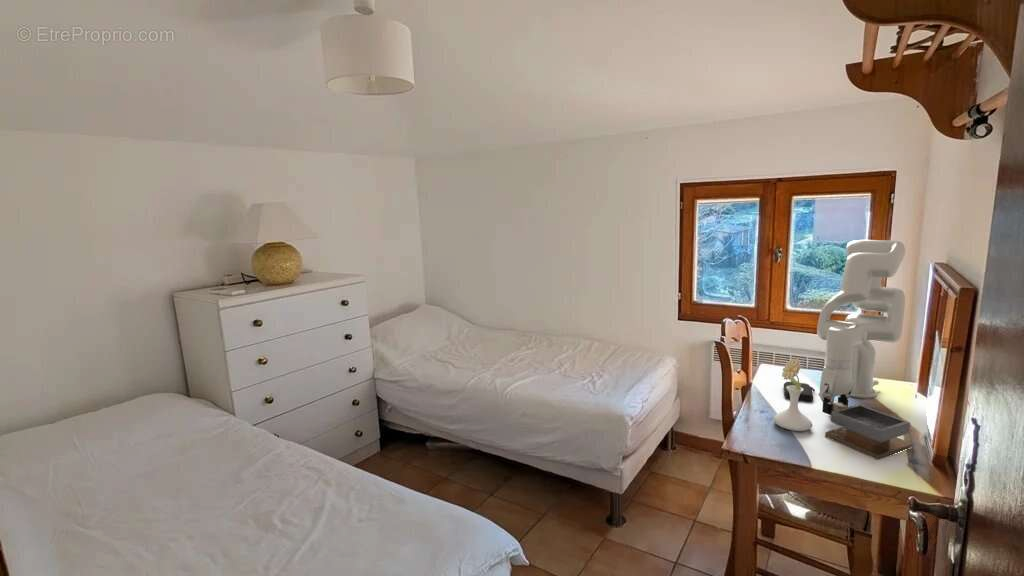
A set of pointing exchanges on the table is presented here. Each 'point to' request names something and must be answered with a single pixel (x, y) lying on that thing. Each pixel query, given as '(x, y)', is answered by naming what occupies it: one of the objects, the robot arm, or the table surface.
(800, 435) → the table surface
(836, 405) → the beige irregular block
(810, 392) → the carrying case or bag
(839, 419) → the tray stand
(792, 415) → the flower in vase
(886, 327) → the robot arm
